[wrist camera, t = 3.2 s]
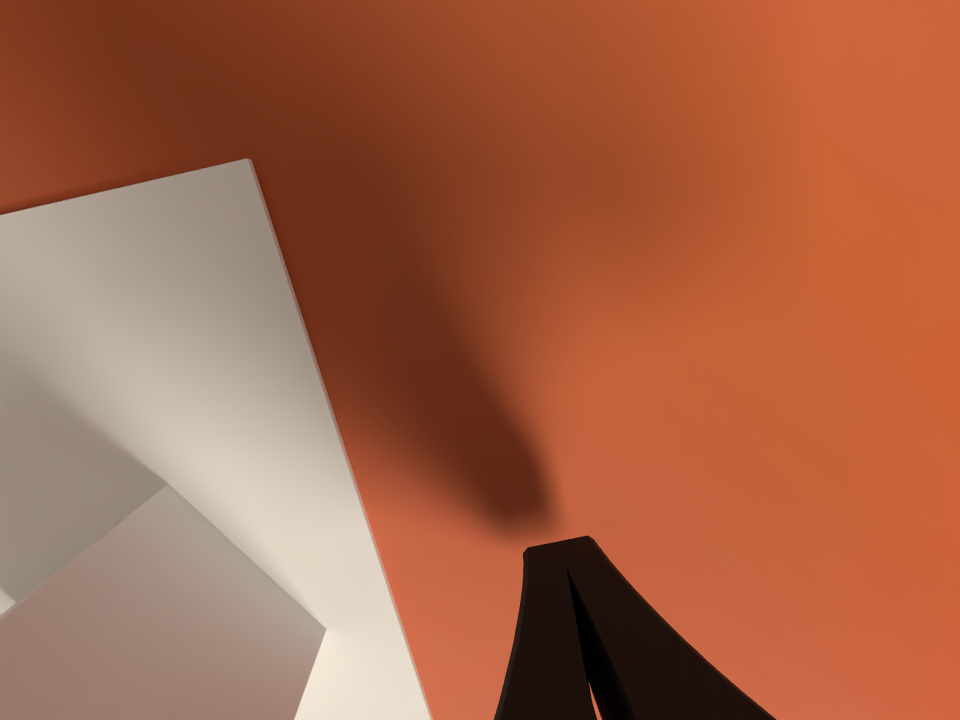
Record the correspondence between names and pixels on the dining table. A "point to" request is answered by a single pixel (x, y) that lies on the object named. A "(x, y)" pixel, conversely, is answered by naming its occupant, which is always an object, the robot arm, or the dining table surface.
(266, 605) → the cream white cube
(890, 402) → the dining table surface
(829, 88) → the dining table surface
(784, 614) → the dining table surface
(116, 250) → the subfloor board
